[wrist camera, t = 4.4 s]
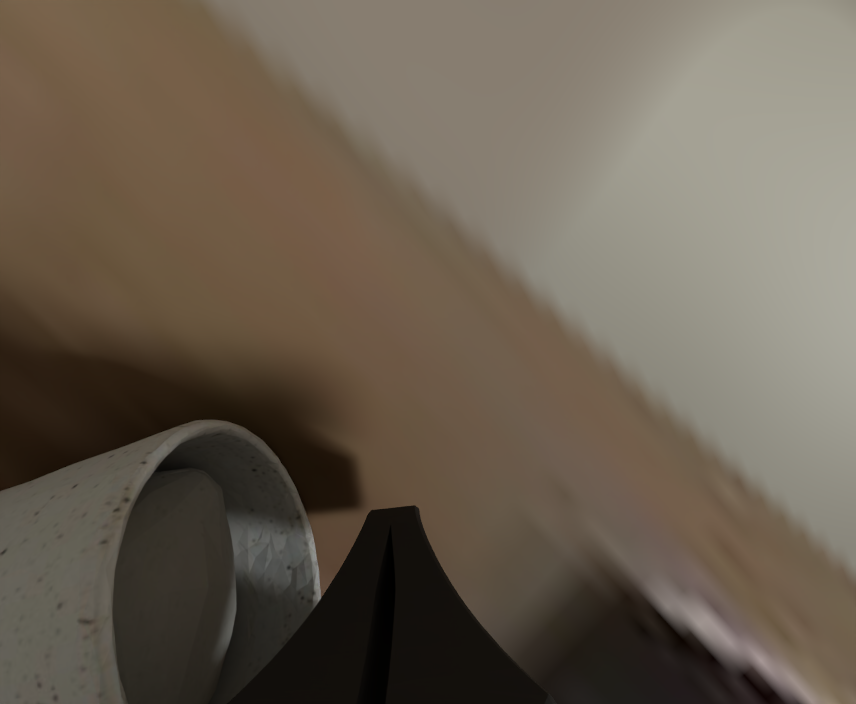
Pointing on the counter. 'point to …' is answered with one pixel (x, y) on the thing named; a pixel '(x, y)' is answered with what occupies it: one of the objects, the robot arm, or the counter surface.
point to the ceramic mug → (153, 572)
